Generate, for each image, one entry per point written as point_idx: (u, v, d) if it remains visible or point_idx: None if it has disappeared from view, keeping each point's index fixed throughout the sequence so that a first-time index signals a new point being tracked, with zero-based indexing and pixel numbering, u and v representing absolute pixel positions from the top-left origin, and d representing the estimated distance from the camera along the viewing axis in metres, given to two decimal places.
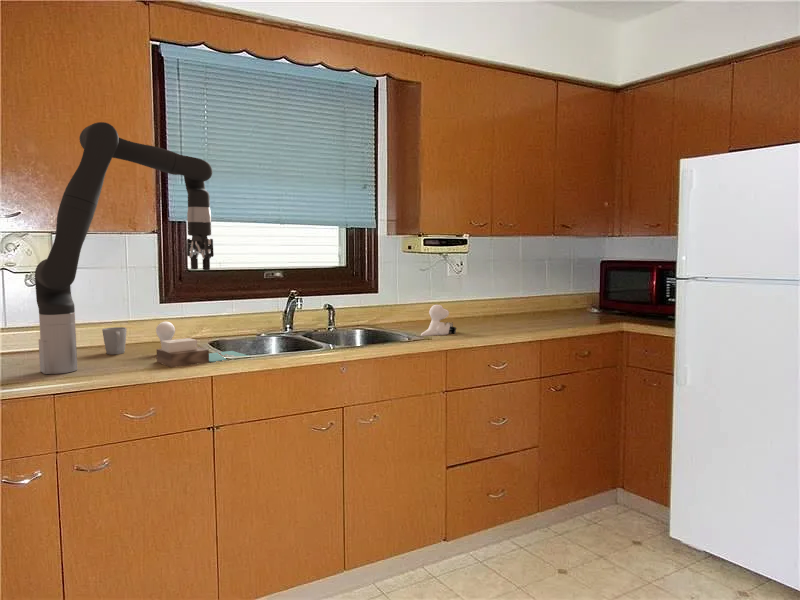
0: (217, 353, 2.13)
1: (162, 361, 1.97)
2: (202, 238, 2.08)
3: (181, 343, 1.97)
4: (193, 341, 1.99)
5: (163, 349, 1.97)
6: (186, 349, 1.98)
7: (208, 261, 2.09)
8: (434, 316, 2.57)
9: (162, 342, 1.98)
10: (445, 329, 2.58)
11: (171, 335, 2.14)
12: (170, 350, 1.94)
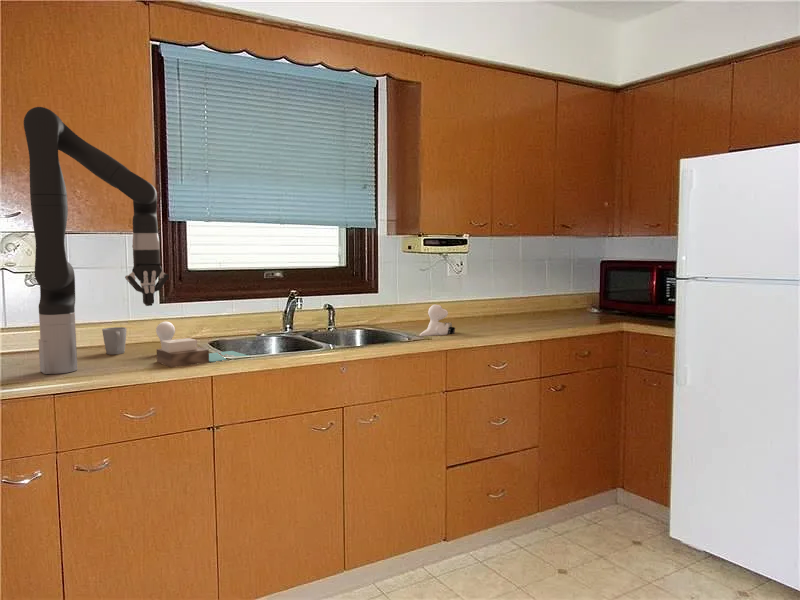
0: (217, 353, 2.13)
1: (162, 361, 1.97)
2: (161, 269, 1.93)
3: (181, 343, 1.97)
4: (193, 341, 1.99)
5: (163, 349, 1.97)
6: (186, 349, 1.98)
7: None
8: (433, 317, 2.57)
9: (162, 342, 1.98)
10: (444, 329, 2.58)
11: (171, 335, 2.14)
12: (170, 350, 1.94)
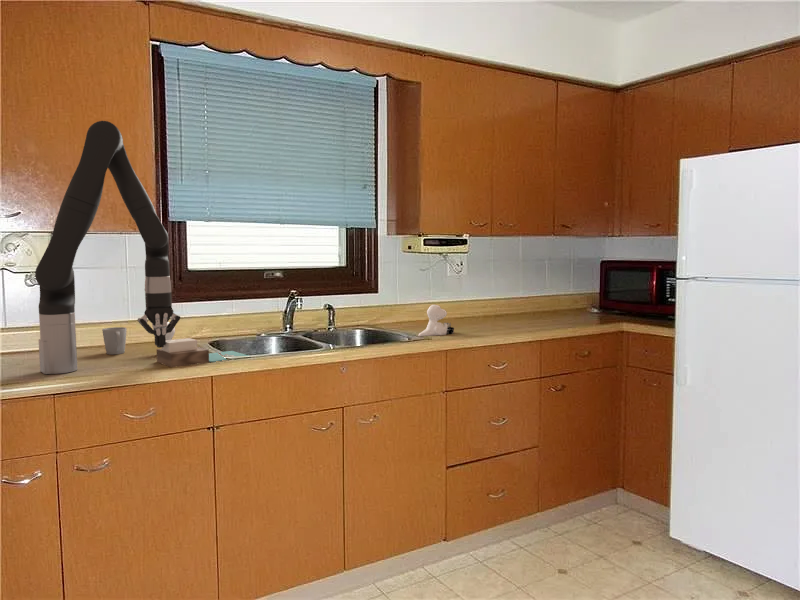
0: (217, 353, 2.13)
1: (162, 361, 1.97)
2: None
3: (181, 343, 1.97)
4: (193, 341, 1.99)
5: (163, 349, 1.97)
6: (186, 349, 1.98)
7: None
8: (432, 317, 2.57)
9: None
10: (443, 329, 2.57)
11: (171, 335, 2.14)
12: (170, 350, 1.94)
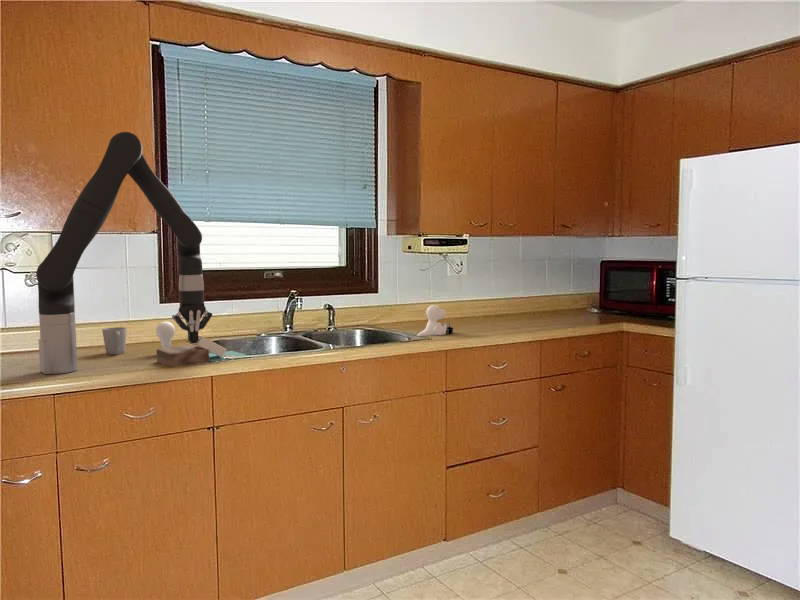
0: None
1: (162, 361, 1.97)
2: (205, 308, 2.03)
3: (212, 343, 2.02)
4: (223, 348, 2.04)
5: None
6: (213, 351, 2.03)
7: None
8: (431, 317, 2.56)
9: None
10: (442, 329, 2.57)
11: (171, 335, 2.14)
12: (200, 343, 2.00)
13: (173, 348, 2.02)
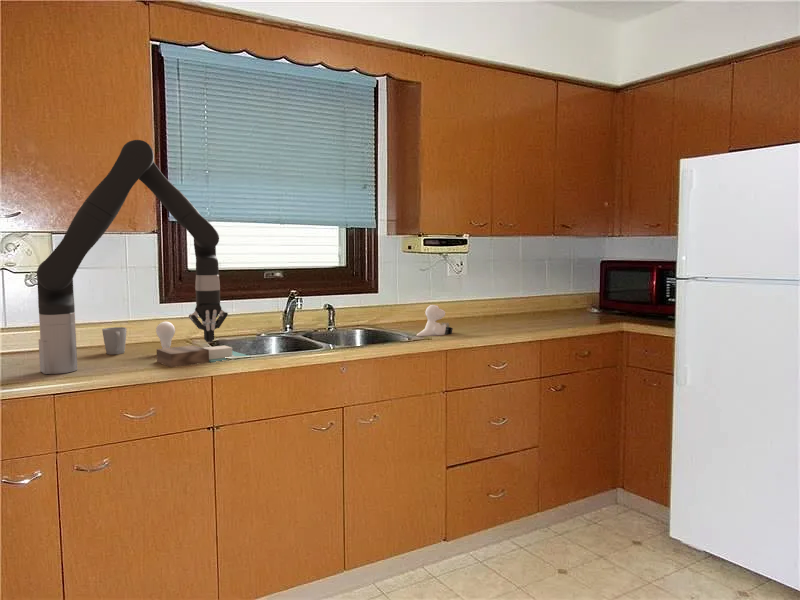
0: None
1: (162, 361, 1.97)
2: (221, 308, 2.07)
3: (217, 350, 2.04)
4: (229, 349, 2.06)
5: None
6: (222, 356, 2.05)
7: None
8: (430, 317, 2.56)
9: None
10: (441, 329, 2.57)
11: (171, 335, 2.14)
12: None
13: (173, 348, 2.02)
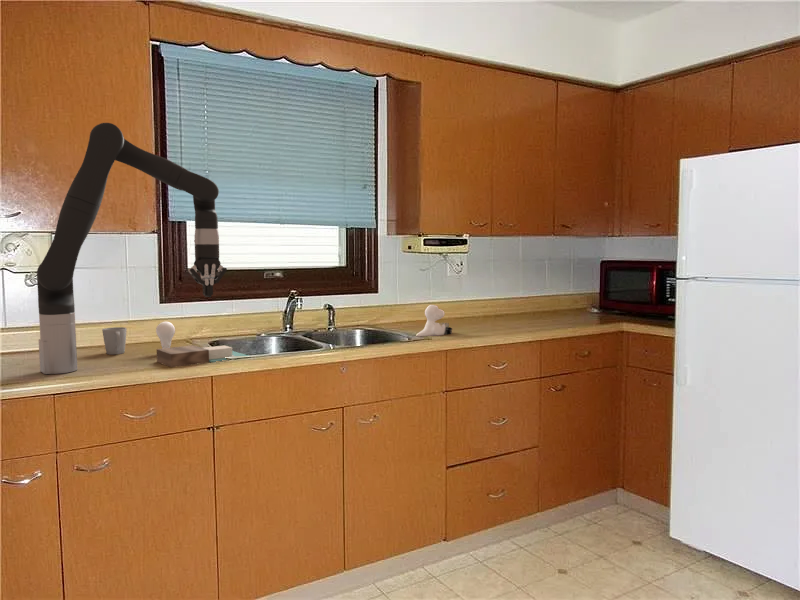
0: None
1: (162, 361, 1.97)
2: (220, 263, 2.06)
3: (217, 350, 2.04)
4: (229, 349, 2.06)
5: None
6: (222, 356, 2.05)
7: None
8: (430, 317, 2.56)
9: None
10: (441, 329, 2.56)
11: (171, 335, 2.14)
12: None
13: (173, 348, 2.02)
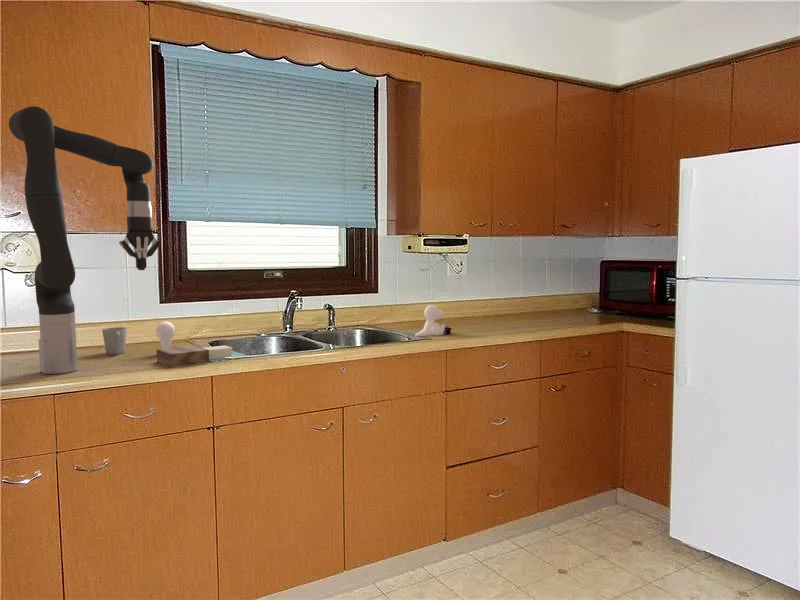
0: None
1: (162, 361, 1.97)
2: None
3: (217, 350, 2.04)
4: (229, 349, 2.06)
5: None
6: (222, 356, 2.05)
7: None
8: (429, 317, 2.56)
9: None
10: (440, 330, 2.56)
11: (171, 335, 2.14)
12: None
13: (173, 348, 2.02)
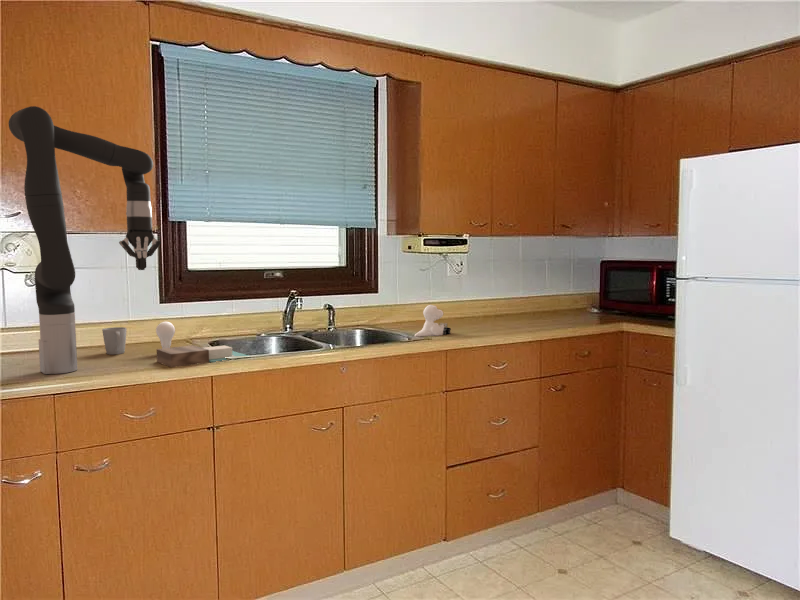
0: None
1: (162, 361, 1.97)
2: None
3: (217, 350, 2.04)
4: (229, 349, 2.06)
5: None
6: (222, 356, 2.05)
7: None
8: (428, 317, 2.56)
9: None
10: (439, 330, 2.56)
11: (171, 335, 2.14)
12: None
13: (173, 348, 2.02)
